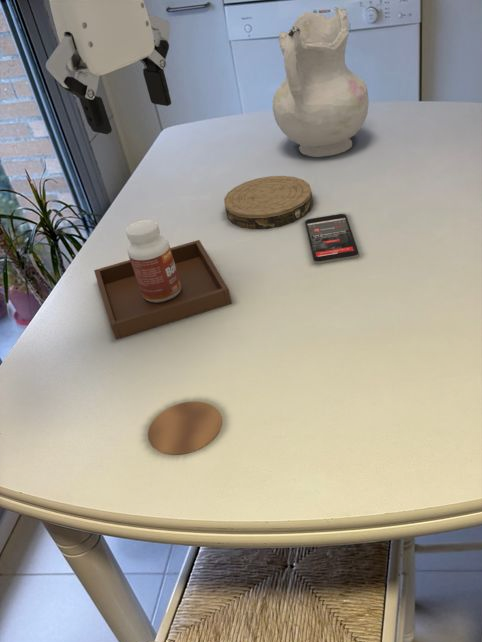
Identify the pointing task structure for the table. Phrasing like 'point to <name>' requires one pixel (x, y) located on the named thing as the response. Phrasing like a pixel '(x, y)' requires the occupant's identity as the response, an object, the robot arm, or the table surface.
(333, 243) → the smartphone
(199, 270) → the tray
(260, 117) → the table surface
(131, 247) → the pill bottle
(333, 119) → the ceramic pitcher
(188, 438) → the coaster
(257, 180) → the wood log slice
